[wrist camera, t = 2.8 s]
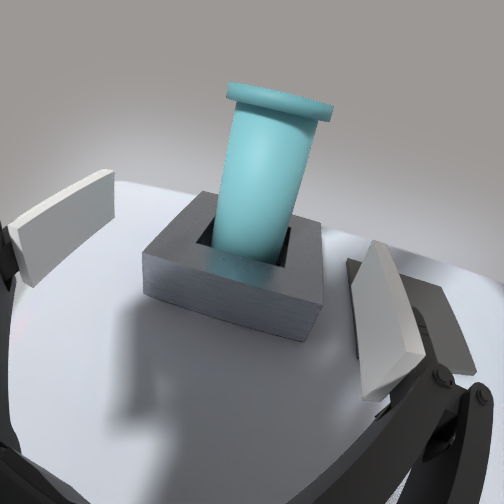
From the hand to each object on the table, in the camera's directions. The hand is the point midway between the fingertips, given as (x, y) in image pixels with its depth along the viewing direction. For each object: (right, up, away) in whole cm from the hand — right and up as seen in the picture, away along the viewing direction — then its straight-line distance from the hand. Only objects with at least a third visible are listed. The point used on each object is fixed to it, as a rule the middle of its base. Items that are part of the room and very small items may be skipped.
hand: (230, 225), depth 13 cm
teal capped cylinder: (0, -3, +13) cm, 14 cm away
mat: (+17, -8, +12) cm, 23 cm away
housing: (0, -3, +13) cm, 14 cm away
